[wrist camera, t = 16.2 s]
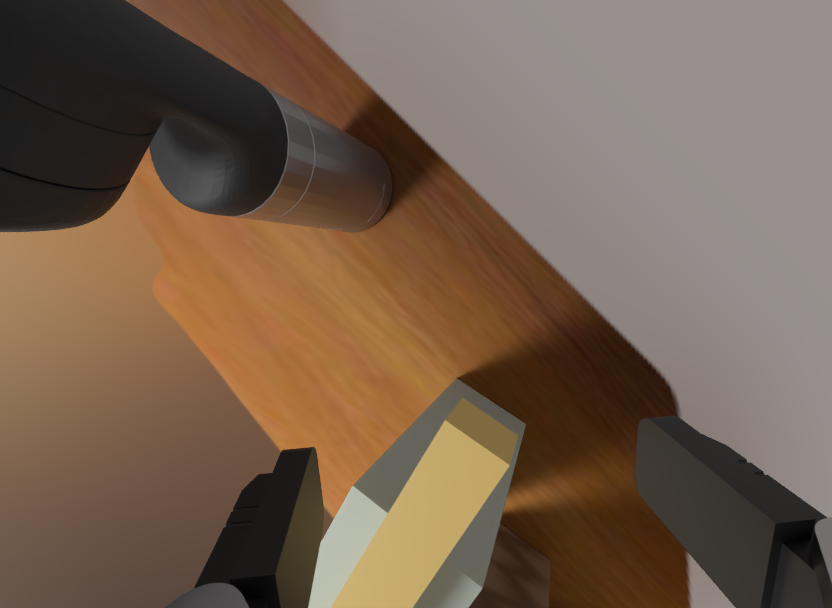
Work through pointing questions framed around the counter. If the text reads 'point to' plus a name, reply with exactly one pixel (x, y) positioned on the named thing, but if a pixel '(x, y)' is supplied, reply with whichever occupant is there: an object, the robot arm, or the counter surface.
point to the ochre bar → (431, 511)
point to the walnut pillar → (515, 575)
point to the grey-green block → (378, 492)
